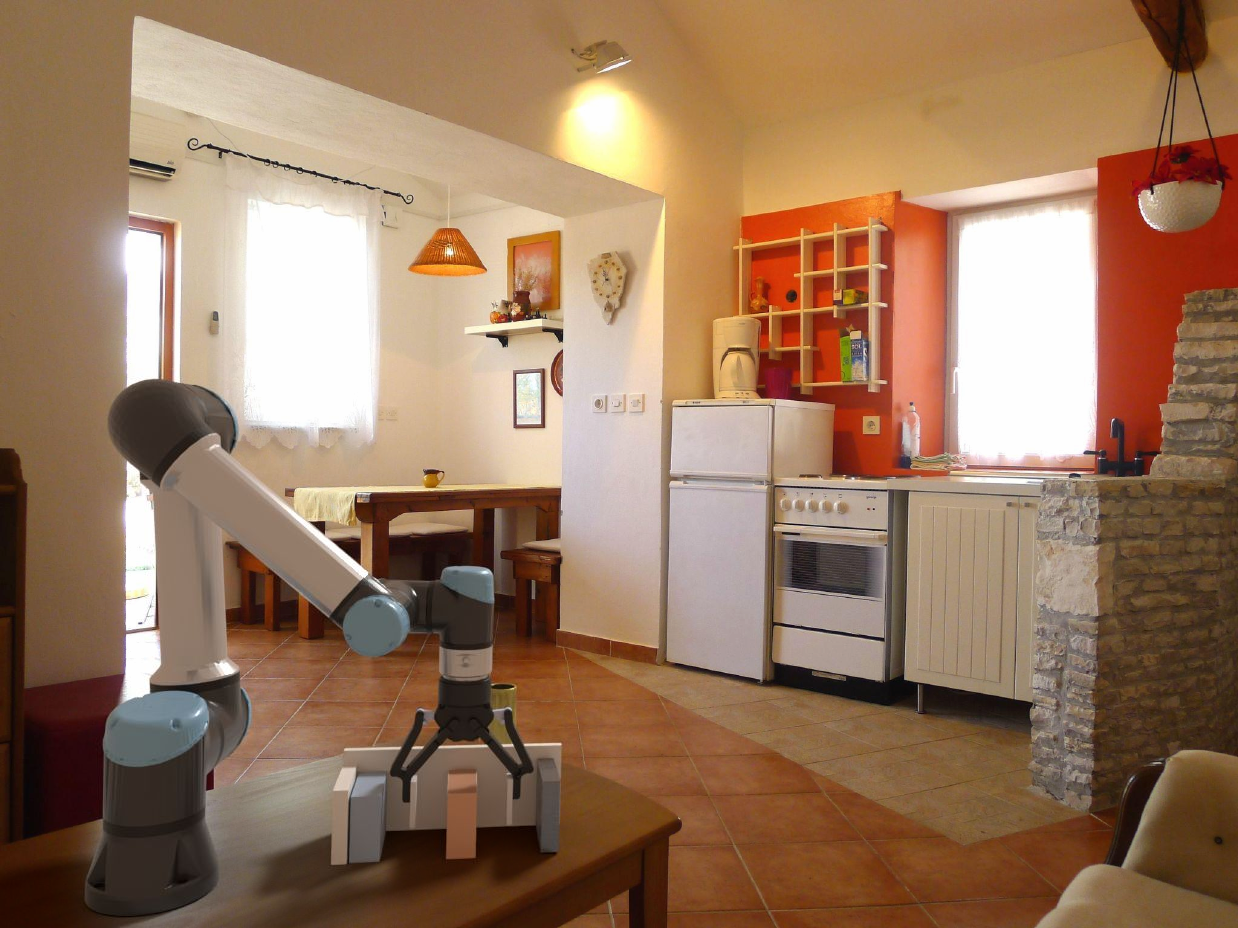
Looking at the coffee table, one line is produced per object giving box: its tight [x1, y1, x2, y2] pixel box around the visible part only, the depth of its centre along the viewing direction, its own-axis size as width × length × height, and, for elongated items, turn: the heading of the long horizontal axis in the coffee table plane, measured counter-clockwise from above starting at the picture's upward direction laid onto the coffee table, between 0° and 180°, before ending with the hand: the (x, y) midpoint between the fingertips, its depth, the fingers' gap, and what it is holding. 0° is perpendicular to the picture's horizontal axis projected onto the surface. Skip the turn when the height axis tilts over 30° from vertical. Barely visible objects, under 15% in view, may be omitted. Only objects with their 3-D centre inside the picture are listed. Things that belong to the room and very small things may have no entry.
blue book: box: [348, 772, 387, 864], centre depth 131 cm, size 4×10×9 cm, turn 9°
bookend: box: [535, 758, 561, 853], centre depth 135 cm, size 2×10×10 cm, turn 9°
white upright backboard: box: [330, 742, 563, 866], centre depth 134 cm, size 32×12×12 cm, turn 99°
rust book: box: [445, 769, 477, 860], centre depth 133 cm, size 4×10×9 cm, turn 9°
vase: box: [484, 682, 518, 745], centre depth 167 cm, size 6×6×14 cm
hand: (461, 822), depth 133 cm, fingers open, 13 cm apart
